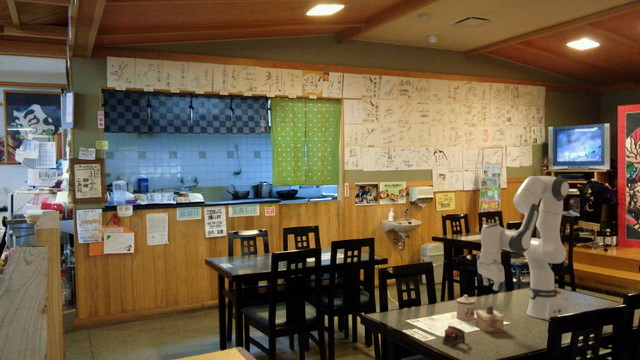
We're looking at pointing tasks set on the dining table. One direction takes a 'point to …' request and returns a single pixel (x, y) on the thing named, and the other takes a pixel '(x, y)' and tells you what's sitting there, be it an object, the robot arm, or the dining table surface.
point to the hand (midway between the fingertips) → (490, 287)
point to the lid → (489, 314)
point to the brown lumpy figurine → (452, 339)
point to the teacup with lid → (465, 308)
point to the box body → (490, 325)
